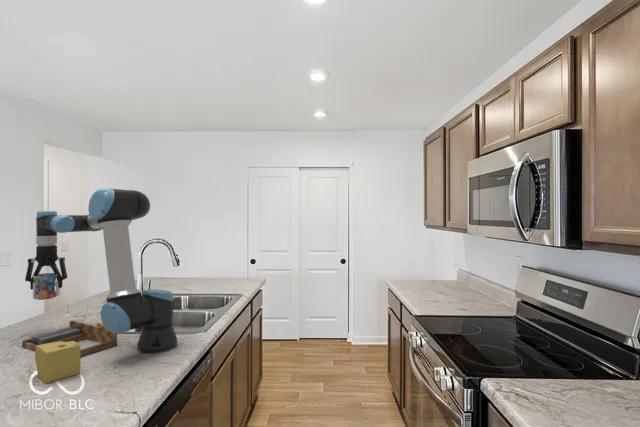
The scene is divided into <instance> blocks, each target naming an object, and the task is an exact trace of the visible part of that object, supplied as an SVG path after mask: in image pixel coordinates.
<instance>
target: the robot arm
mask: <svg viewBox="0 0 640 427" xmlns="http://www.w3.org/2000/svg"><path fill="white" fill-rule="evenodd" d="M150 202H151V201H150V200H149V198H148V196H147V195H146V194H145V193H143V192H141V191H139V190H132V189H119V188H117V189H116V188H112V187H111V188H99V189H96V191H94V192H93V193H92V195H91V196H90V199H89V200H88V214H86V215H85V214H84V215H83V214H82V215H80V214H77V215H76V214H74V215H73V214H58V212H57V211H56V210H38V211H37V212H36V218H35V223H36V239H35V240H36V241H35V242H36V243H35V245H37V246H36V247H35V248H36V251H35V252H36V255H35V257H30V258H28V259H27V269H26V274H25V278H24V281H25V282H29V284H30V290H32V298H33V297H34V295H35V292H36V284H35V281H34V279H33V277H32V276H33V275H34V276H38V275H39V274H41V273H40V272H41V270H42V268H43V267H49V268H51V270H52V271H53V272H52V273H54V274H55V275H56V274H58V275H57V277H56V281H55V283H56V286H55V292H56V297H58V296H60V295H61V288H63V280H66V279H68V273H67V268H66V262H65V261H66V257H64V256H63V257H62V256H61V257H60V256H58V233H59V234H60V233H62V234H64V233H65V234H66V233H80V232H100V231H102V233H103V234H102V235H103V241H104V249H105V258H106V259H105V260H106V266H107V268H106V269H107V276H108V284H109V294H108V295H107V296H106V299H105V300H106V302H105V303H104V304H103V305H102V306H101V310H100V320H101V322H102V324H103V325H104V326H105V328H107V330H108V331H110V332H112V333H117V334H120V333H127V332H129V331H131V330H135V329H138V328H141V330H140V334H139V337H138V341H137V342H136V343H137V344H136V350H137V351H138V352H140V354H141V353H143V354H159V353H163V352H164V353H165V352H167V351H170V350H173V349H175V348H177V346H178V337H177V334H176V331H175V329H174V297H173V296H174V294H173V292H171V291H170V290H165V289H145V290H142V291H141V290H140V289H139V288H137V286H136V281H135V280H136V279H135V278H136V277H135V271H134V264H133V254H132V248H131V239H130V238H131V237H130V230H129V226H130V225H131V223H132V222H133V221H135V220H138V219H141V218H144V217H145V216H147V215H148V214H149V212H150V209H151V203H150ZM57 261H58V262H59V267H60V271H59V269H58V266H57V263H56V262H57ZM36 262H37V265H36V268H35V271H34V266H35V263H36ZM33 271H34V272H33ZM57 280H58V281H57Z"/></svg>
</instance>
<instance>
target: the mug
mask: <svg viewBox="0 0 640 427" xmlns="http://www.w3.org/2000/svg"><path fill="white" fill-rule="evenodd" d="M57 275H58V274H56V275H55V274H54V272H46V273H39V275H38V276H34V275H33V274H32V276H31V278H32V277H33V279H34V281H35V284H36V292H35V295H34V297H33V296H32V298H33V300H39V301H41V300H42V301H43V300H51V299H54V298H56V297H57V296H56V281H58V280H57V278H56V277H57Z"/></svg>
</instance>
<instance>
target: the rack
mask: <svg viewBox="0 0 640 427" xmlns="http://www.w3.org/2000/svg"><path fill="white" fill-rule="evenodd" d="M84 340H89V341H93V342H96V343H97V342H98V343H97V344H95V345H92V346H89V347H85V348H83V349H82V348H81V355H80V358H83V357H86V356H89V355H92V354H95V353H99V352H102V351H105V350H107V349H111V348H113V347H117V346H118V333H112V332H110V331H108V330H107V328H105V326H104V325H103V323H101V322H97V323H96V325H93V324H89V323H85V322H80V321H77V320H69V326H67V327H64V328H61V329H56V330H51V331H49V332H44V333H41V334H37V335H32V336H30V338H28V339H24V340H22V341H21V342H22V343H21V344H22V346H21V347H22V348H24V349H26V350H27V349H28V350H29V351H34V352H36V346H38V345H41V344H47V343H53V342H60V341H62V342H70V341H75V342H77V343H78V342H81V341H82V342H83V341H84Z"/></svg>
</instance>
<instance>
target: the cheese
mask: <svg viewBox="0 0 640 427" xmlns="http://www.w3.org/2000/svg"><path fill="white" fill-rule="evenodd" d="M81 350H82V348H81V344H80V343H78V342H75V341H70V342H62V341H60V342H53V343H47V344H41V345H38V346H36V351H34V352H35V353H34V357H35V366H36V371H37V376H38V377H39V378H40V379H41V380H42V381H43V382H44V383H45V384H48V383H52V382H54V381H56V382H57V381H59V380H63V379H66V378H68V377H72V376H76V375H79V374H81V357H80V355H81Z"/></svg>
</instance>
